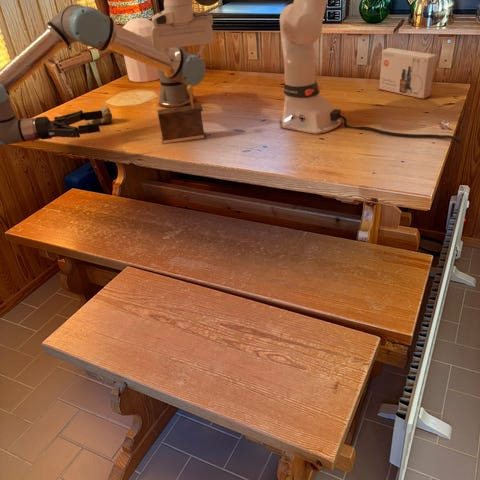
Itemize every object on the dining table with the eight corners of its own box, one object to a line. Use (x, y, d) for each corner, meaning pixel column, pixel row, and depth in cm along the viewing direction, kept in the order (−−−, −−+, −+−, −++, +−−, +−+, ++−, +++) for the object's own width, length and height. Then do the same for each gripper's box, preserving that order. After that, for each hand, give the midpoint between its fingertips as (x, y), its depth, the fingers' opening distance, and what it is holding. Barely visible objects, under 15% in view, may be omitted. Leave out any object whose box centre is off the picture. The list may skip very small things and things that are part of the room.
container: (160, 81, 233) (149, 21, 217) (121, 82, 238) (108, 23, 222) (174, 69, 249) (165, 13, 233) (138, 70, 254) (126, 15, 238)
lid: (201, 106, 166) (198, 83, 161) (202, 110, 162) (199, 87, 157) (158, 112, 164) (153, 88, 160) (158, 116, 160) (154, 93, 156)
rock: (87, 123, 194) (86, 127, 185) (83, 107, 191) (82, 111, 182) (113, 119, 196) (113, 123, 187) (110, 103, 193) (110, 107, 184)
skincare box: (377, 89, 194) (381, 50, 185) (385, 86, 197) (389, 47, 188) (423, 99, 180) (429, 56, 171) (430, 95, 183) (437, 53, 174)
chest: (203, 132, 171) (199, 106, 166) (204, 137, 167) (201, 111, 162) (163, 138, 170) (158, 112, 164) (163, 143, 166) (158, 117, 160)
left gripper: (47, 126, 170) (105, 119, 172) (34, 153, 150) (100, 144, 152) (41, 106, 166) (100, 99, 168) (26, 131, 146) (94, 122, 148)
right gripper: (210, 9, 149) (215, 54, 157) (147, 17, 148) (155, 61, 155) (213, 12, 144) (217, 58, 152) (147, 20, 142) (156, 66, 150)
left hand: (100, 120), depth 160 cm, fingers open, 13 cm apart
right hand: (185, 60), depth 154 cm, fingers open, 8 cm apart
